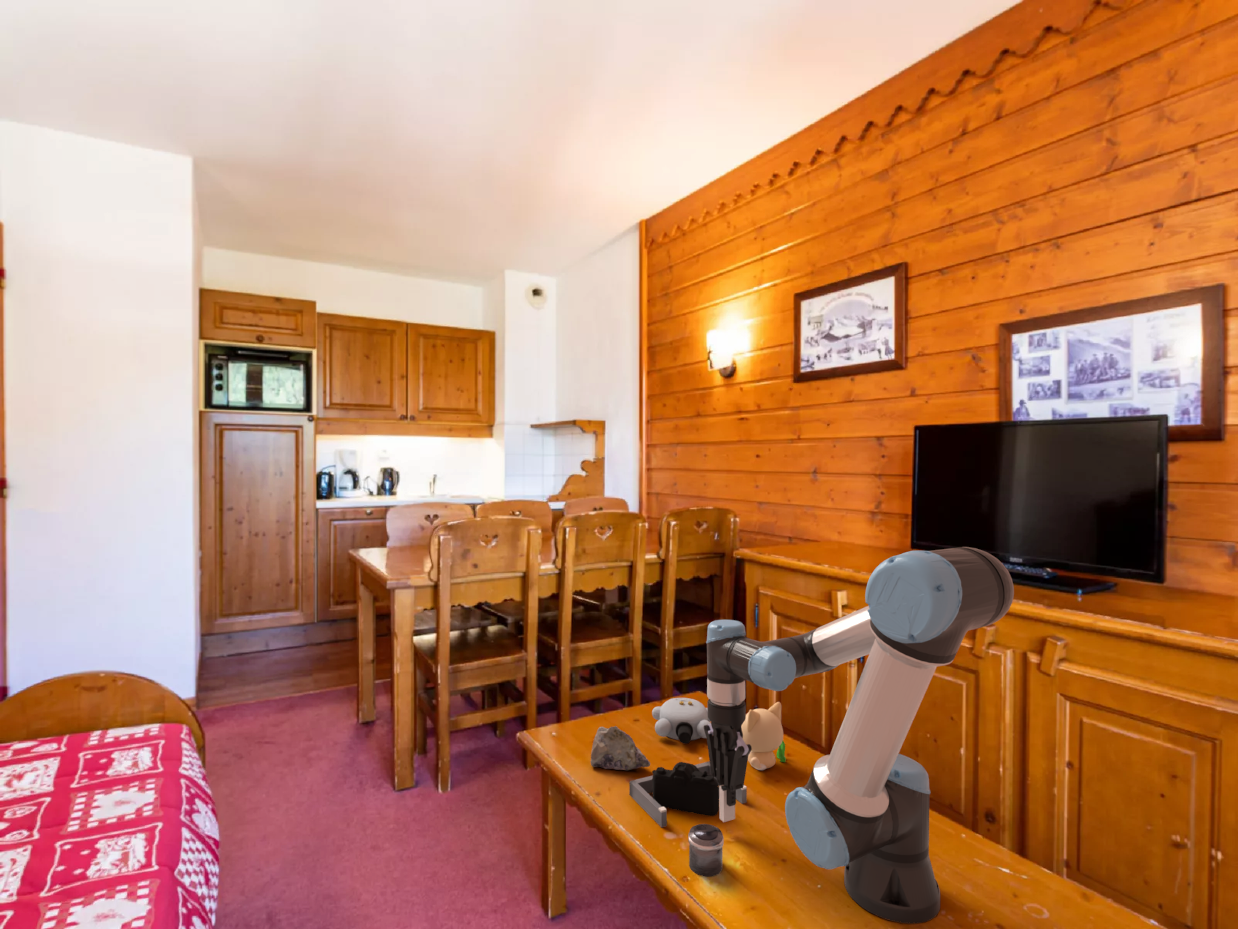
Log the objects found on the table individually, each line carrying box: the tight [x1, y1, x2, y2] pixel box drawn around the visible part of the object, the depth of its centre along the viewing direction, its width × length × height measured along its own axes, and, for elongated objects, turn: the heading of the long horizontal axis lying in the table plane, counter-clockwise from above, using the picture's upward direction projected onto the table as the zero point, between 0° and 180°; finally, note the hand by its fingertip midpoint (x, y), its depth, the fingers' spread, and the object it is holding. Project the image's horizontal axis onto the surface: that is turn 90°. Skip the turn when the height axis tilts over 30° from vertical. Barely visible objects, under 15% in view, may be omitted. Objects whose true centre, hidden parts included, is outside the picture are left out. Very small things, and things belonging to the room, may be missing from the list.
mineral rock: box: [590, 725, 651, 771], centre depth 152 cm, size 13×11×10 cm
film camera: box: [651, 761, 719, 817], centre depth 137 cm, size 15×10×9 cm, turn 70°
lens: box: [687, 823, 725, 878], centre depth 115 cm, size 6×6×6 cm
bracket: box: [628, 760, 748, 828], centre depth 138 cm, size 14×21×3 cm, turn 117°
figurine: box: [651, 697, 711, 745], centre depth 172 cm, size 17×8×20 cm
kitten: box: [741, 701, 787, 771], centre depth 154 cm, size 15×10×15 cm
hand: (727, 818), depth 125 cm, fingers closed
